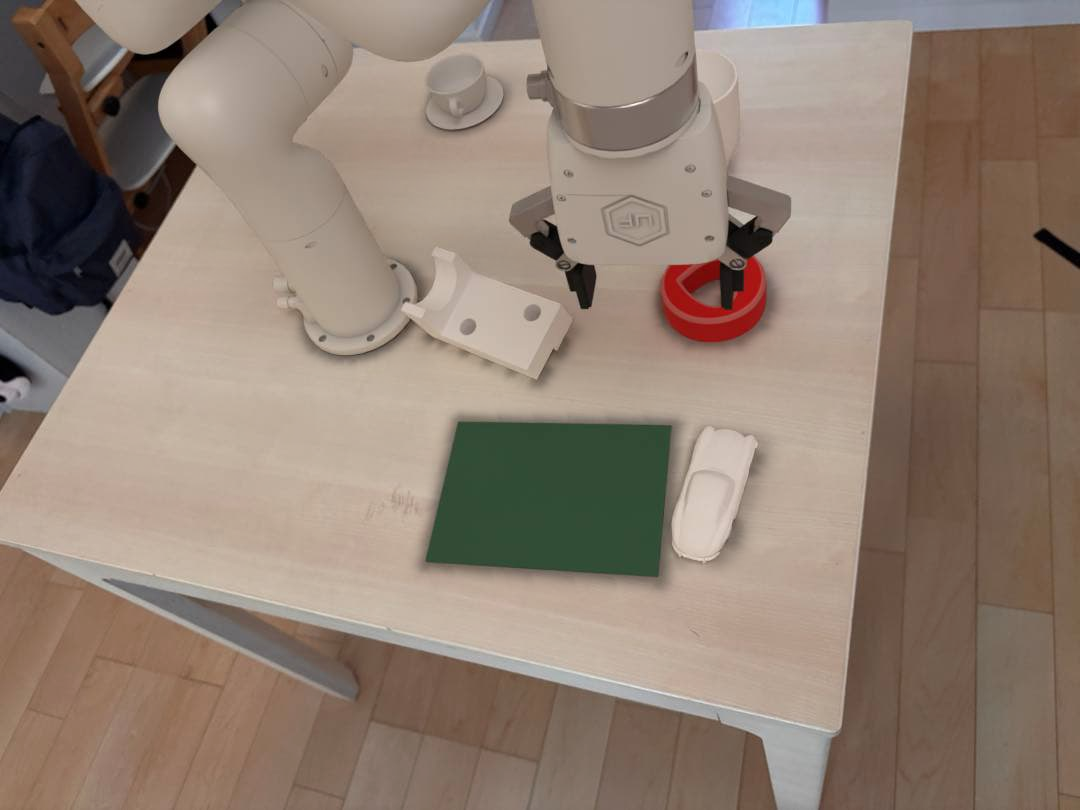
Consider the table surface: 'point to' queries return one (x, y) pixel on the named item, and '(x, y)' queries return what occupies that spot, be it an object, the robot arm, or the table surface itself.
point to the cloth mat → (554, 497)
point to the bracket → (489, 317)
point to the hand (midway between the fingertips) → (657, 293)
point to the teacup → (461, 92)
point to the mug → (722, 94)
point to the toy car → (711, 493)
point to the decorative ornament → (703, 318)
